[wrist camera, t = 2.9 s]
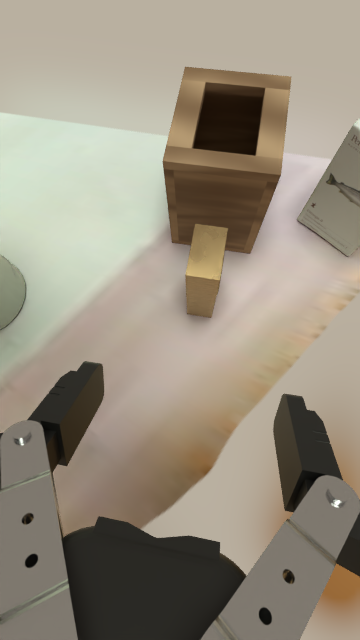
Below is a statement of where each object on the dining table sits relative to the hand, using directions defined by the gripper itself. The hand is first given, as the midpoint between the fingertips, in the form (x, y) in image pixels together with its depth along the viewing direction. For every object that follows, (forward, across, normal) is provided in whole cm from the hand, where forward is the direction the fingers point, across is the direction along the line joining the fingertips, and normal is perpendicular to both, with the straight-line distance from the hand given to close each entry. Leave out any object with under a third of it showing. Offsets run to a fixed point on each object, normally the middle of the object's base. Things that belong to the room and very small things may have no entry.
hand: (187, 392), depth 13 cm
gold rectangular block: (+20, +1, +4) cm, 20 cm away
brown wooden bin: (+28, 0, -4) cm, 28 cm away
